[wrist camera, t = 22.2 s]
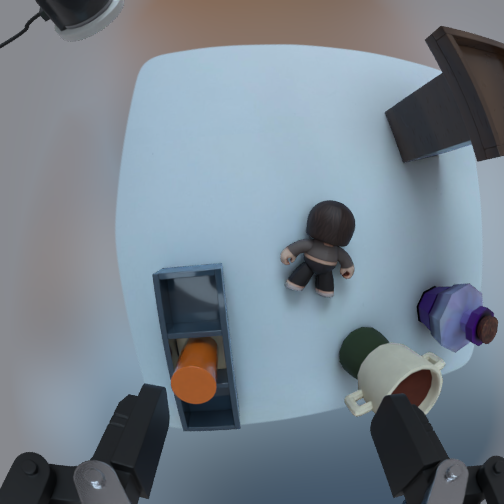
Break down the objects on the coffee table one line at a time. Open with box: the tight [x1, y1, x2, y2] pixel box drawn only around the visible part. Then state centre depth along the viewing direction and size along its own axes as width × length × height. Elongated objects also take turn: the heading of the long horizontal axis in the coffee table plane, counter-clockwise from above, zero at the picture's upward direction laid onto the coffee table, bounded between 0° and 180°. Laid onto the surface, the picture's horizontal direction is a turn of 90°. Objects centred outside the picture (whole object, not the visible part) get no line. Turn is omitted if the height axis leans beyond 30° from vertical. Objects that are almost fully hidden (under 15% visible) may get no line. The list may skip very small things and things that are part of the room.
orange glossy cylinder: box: [171, 337, 219, 404], centre depth 27 cm, size 4×4×8 cm
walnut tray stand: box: [385, 26, 504, 163], centre depth 23 cm, size 14×11×18 cm
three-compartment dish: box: [153, 263, 240, 431], centre depth 30 cm, size 7×19×4 cm, turn 5°
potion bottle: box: [417, 283, 498, 352], centre depth 28 cm, size 9×9×12 cm
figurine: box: [280, 200, 355, 298], centre depth 30 cm, size 8×5×10 cm
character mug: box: [340, 327, 445, 417], centre depth 27 cm, size 11×7×13 cm, turn 110°
